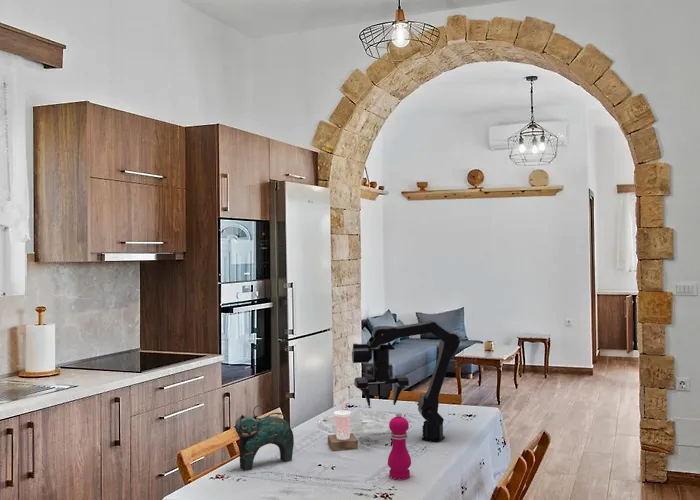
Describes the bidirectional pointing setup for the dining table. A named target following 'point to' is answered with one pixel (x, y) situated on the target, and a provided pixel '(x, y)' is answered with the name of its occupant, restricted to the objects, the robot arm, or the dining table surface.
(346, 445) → the walnut block
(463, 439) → the dining table surface
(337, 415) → the beverage cup
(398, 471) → the pepper mill
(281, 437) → the ceramic cat
